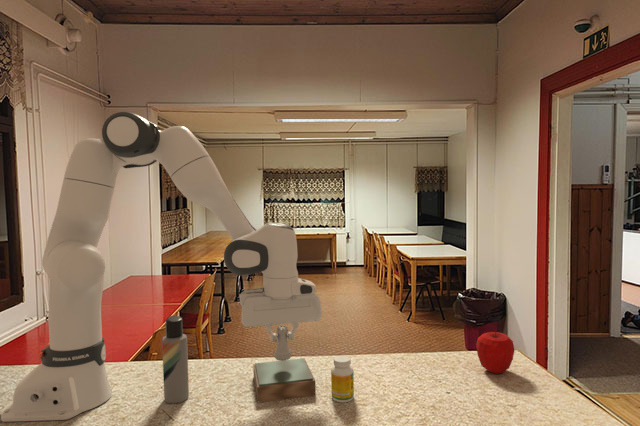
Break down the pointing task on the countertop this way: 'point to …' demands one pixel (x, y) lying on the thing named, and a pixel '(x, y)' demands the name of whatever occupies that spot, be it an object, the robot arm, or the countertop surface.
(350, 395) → the supplement bottle
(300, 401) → the countertop surface
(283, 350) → the rook chess piece
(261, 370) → the walnut plinth
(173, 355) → the lotion bottle
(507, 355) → the apple
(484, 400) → the countertop surface
